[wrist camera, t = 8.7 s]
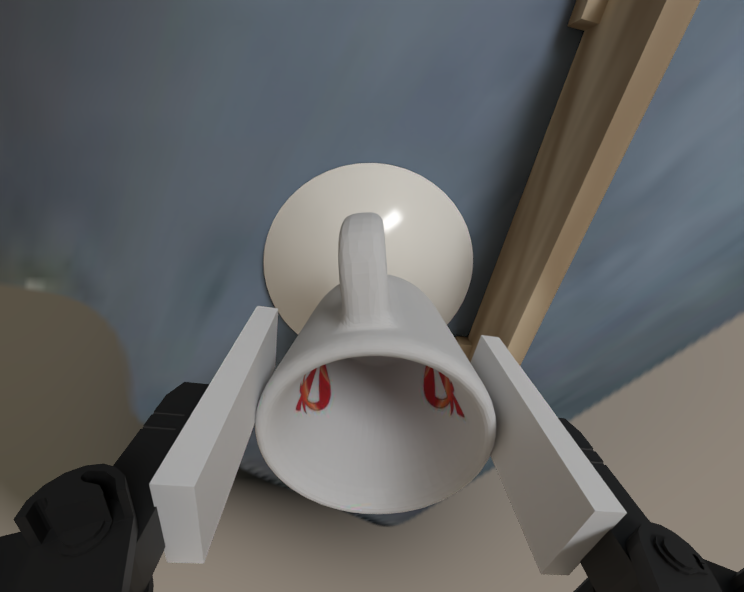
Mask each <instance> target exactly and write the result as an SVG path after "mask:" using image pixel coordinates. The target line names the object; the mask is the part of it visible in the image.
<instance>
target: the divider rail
mask: <svg viewBox="0 0 744 592" xmlns="http://www.w3.org/2000/svg"><path fill="white" fill-rule="evenodd" d="M699 2H700V0H576V3H575V6H574V9H573V11H572V14H571V17H570V20H569V23H568V25H567V26H568V27H571V28H575V29H579V30H583V31H584V33H583V36H582V39H581V41H580V44H579V47H578V49H577V52H576V54H575V57H574V60H573V62H572V65H571V68H570V70H569V73H568V76H567V78H566V81H565V83H564V86H563V89H562V91H561V94H560V97H559V99H558V102H557V104H556V107H555V110H554V112H553V115H552V118H551V120H550V123H549V126H548V128H547V131H546V133H545V136H544V139H543V141H542V144H541V147H540V149H539V152H538V154H537V157H536V160H535V162H534V165H533V168H532V170H531V173H530V176H529V178H528V181H527V183H526V186H525V189H524V191H523V194H522V197H521V199H520V202H519V204H518V207H517V210H516V212H515V215H514V218H513V220H512V223H511V226H510V228H509V231H508V233H507V236H506V239H505V241H504V244H503V247H502V249H501V252H500V255H499V257H498V260H497V262H496V265H495V268H494V270H493V273H492V276H491V278H490V281H489V283H488V286H487V289H486V291H485V294H484V297H483V299H482V302H481V305H480V307H479V310H478V312H477V315H476V318H475V320H474V323H473V326H472V328H471V331H470V333H469V336H468V337H460V336H456V338H455V339H456V341H457V342H458V344H459V346H460V347H461V349H462V350H463V352H464V354H465V355H466V357H467V358H468V360H469V362H471V360H472V357H473V355H474V352H475V350H476V347H477V345H478V342H479V340H480V337H481V335H485V336H493V337H499V338H500V339H501V341H502V342H503V343H504V345H505V346H506V348H507V349H508V350H509V352H510V353H511V354H512V356H513V357H514V359H515V360H516V361H517V363H518V364H519V365H521V363H522V361H523V359H524V357H525V355H526V353H527V351H528V349H529V347H530V345H531V343H532V340H533V338H534V336H535V334H536V332H537V330H538V328H539V326H540V324H541V322H542V320H543V318H544V316H545V314H546V312H547V310H548V308H549V306H550V304H551V302H552V300H553V298H554V296H555V294H556V292H557V290H558V288H559V286H560V284H561V282H562V280H563V278H564V276H565V274H566V272H567V270H568V268H569V266H570V264H571V262H572V260H573V258H574V255H575V253H576V251H577V249H578V247H579V245H580V243H581V241H582V239H583V237H584V235H585V233H586V231H587V229H588V227H589V225H590V223H591V221H592V219H593V217H594V215H595V213H596V211H597V209H598V207H599V205H600V203H601V201H602V199H603V197H604V195H605V193H606V191H607V189H608V187H609V185H610V183H611V181H612V179H613V177H614V175H615V172H616V170H617V168H618V166H619V164H620V162H621V160H622V158H623V156H624V154H625V152H626V150H627V148H628V146H629V144H630V142H631V140H632V138H633V136H634V134H635V132H636V130H637V128H638V126H639V124H640V122H641V120H642V118H643V116H644V114H645V112H646V110H647V108H648V106H649V104H650V102H651V100H652V98H653V96H654V94H655V92H656V89H657V87H658V85H659V83H660V81H661V79H662V77H663V75H664V73H665V71H666V69H667V67H668V65H669V63H670V61H671V59H672V57H673V55H674V53H675V51H676V49H677V47H678V45H679V43H680V41H681V39H682V37H683V35H684V33H685V31H686V29H687V27H688V25H689V23H690V21H691V19H692V17H693V15H694V13H695V11H696V9H697V7H698V4H699Z"/></svg>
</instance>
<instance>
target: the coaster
mask: <svg viewBox="0 0 744 592" xmlns="http://www.w3.org/2000/svg"><path fill="white" fill-rule="evenodd" d="M363 212H372V213H375V214H378V215H379V216H380V217H381V218H382V220H383V226H384V234H385V247H386V260H387V274H388V275H393V276H396V277H399V278H402V279H404V280H406V281H408V282H410V283H412V284H413V285H415V286H416V287H418V288H419V289H420V290H421V291H422V292H423V293H424V294H425V295H426V296H427V297H428V298H429V299H430V300H431V302H432V303H433V304H434V306H435V307H436V309H437V310H438V312H439V313H440V315H441V317H442V318H443V320H444V321H445V323H446V325H447V324H448V323H449V322H450V321H451V319H452V318H453V317H454V315H455V314H456V313H457V311H458V310H459V308H460V306H461V304H462V303H463V301H464V298H465V296H466V294H467V291H468V288H469V285H470V281H471V276H472V269H473V250H472V243H471V238H470V235H469V232H468V228H467V226H466V224H465V221H464V219H463V217H462V215H461V214H460V212H459V210H458V209H457V207H456V206H455V204H454V203H453V202H452V201H451V200H450V198H449V197H448V196H447V195H446V194H445V193H444V192H443V191H442V190H441V189H439V188H438V187H437V186H436V185H435V184H433V183H432V182H430V181H429V180H427V179H425V178H424V177H422V176H421V175H419V174H416V173H414V172H412V171H409V170H407V169H404V168H401V167H397V166H393V165H389V164H381V163H357V164H351V165H345V166H341V167H338V168H335V169H332V170H329V171H327V172H325V173H323V174H320V175H318V176H316V177H314V178H313V179H312V180H310V181H309V182H307V183H306V184H304V185H303V186H301V187H300V188H299V189H298V190H297V191H296V192H295V193H294V194H293V195H292V196H290V198H289V199H288V200H287V201H286V202H285V204H284V205H283V206H282V207H281V209H280V210H279V212H278V214H277V215H276V217H275V219H274V221H273V223H272V225H271V228H270V230H269V233H268V236H267V240H266V244H265V250H264V275H265V280H266V286H267V289H268V292H269V295H270V298H271V300H272V302H273V304H274V306H275V308H277V309H278V312H279V314H280V315H281V317H282V318H283V320H284V321H285V322H286V323H287V324H288V325H289V326H290V328H291V329H292V330H294V331H295V332H296V333H297V334H299V333H300V331H301V330H302V328H303V327H304V325H305V324H306V322H307V320H308V319H309V317H310V316H311V314H312V313H313V311H314V310H315V308H316V307H317V305H318V304H319V302H320V301H321V300H322V299H323V297H324V296H325V295H326V294H327V293H328V292H329V291H330V290H332V289H333V288H334V287H335V286H337V285H338V284H340V282H339V267H338V241H339V233H340V229H341V225H342V223H343V221H344V220H345V218H346V217H348V216H349V215H352V214H355V213H363Z"/></svg>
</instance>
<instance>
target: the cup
mask: <svg viewBox="0 0 744 592" xmlns="http://www.w3.org/2000/svg"><path fill="white" fill-rule="evenodd" d="M338 267H339V282H340V284H338V285H337V286H335V287H334V288H333V289H332V290H330V291H329V292H328V293H327V294H326V295H325V296H324V297H323V299H322V300H321V301H320V302H319V304H318V305H317V307H316V308H315V310H314V311H313V313H312V314H311V316H310V317H309V319H308V320H307V322H306V324H305V325H304V327H303V328H302V330H301V331H300V333H299V334H298V336H297V338H296V339H295V341H294V342H293V344H292V345H291V347H290V348H289V350H288V352H287V353H286V355H285V356H284V358H283V359H282V361H281V362H280V364H279V366H278V367H277V369H276V370H275V372H274V373H273V375H272V376H271V378H270V380H269V381H268V383H267V384H266V386H265V388H264V390H263V392H262V394H261V397H260V400H259V403H258V406H257V410H256V417H255V433H256V438H257V443H258V446H259V449H260V452H261V454H262V456H263V458H264V459H265V461H266V463H267V465H268V466H269V467H270V468H271V470H272V471H273V472H274V474H275V475H276V476H277V477H278V478H279V479H280V480H281V481H283V482H284V483H285V484H286V485H288V486H289V487H290V488H291V489H293V490H294V491H296V492H297V493H299V494H301V495H303V496H304V497H306V498H308V499H310V500H313V501H315V502H317V503H319V504H322V505H325V506H328V507H332V508H335V509H338V510H343V511H348V512H355V513H363V514H390V513H399V512H406V511H411V510H415V509H419V508H424V507H426V506H429V505H432V504H434V503H437V502H440V501H442V500H444V499H446V498H448V497H449V496H451V495H453V494H455V493H457V492H458V491H459V490H461V489H462V488H463V487H465V486H466V485H467V484H469V483H470V482H471V481H472V480H473V479H474V478H475V477H476V476H477V475H478V474H479V472H480V471H481V470H482V468H483V467H484V465H485V464H486V462H487V460H488V459H489V457H490V454H491V452H492V449H493V446H494V442H495V437H496V416H495V412H494V408H493V404H492V401H491V398H490V396H489V394H488V392H487V390H486V388H485V386H484V384H483V383H482V381H481V379H480V378H479V376H478V374H477V373H476V371H475V370H474V368H473V366H472V365H471V363H470V362H469V360H468V358H467V357H466V355H465V354H464V352H463V350H462V349H461V347H460V346H459V344H458V342H457V341H456V339H455V338H454V336H453V334H452V333H451V331H450V330H449V328H448V326H447V325H446V323H445V321H444V320H443V318H442V317H441V315H440V313H439V312H438V310H437V309H436V307H435V306H434V304H433V303H432V302H431V300H430V299H429V298H428V297H427V296H426V295H425V294H424V293H423V292H422V291H421V290H420V289H419V288H418V287H416V286H415V285H413V284H412V283H410V282H408V281H406V280H404V279H402V278H399V277H396V276H393V275H388V274H387V260H386V247H385V234H384V226H383V220H382V218H381V217H380V216H379V215H378V214H375V213H372V212H363V213H355V214H352V215H349V216H348V217H346V218H345V220H344V221H343V223H342V225H341V229H340V233H339V241H338Z"/></svg>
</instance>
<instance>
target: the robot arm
mask: <svg viewBox="0 0 744 592" xmlns="http://www.w3.org/2000/svg"><path fill="white" fill-rule="evenodd" d="M277 323H278V309H277V308H270V307H262V306H257V307H256V309H255V310H254V312H253V314H252V315H251V317H250V319H249V320H248V322H247V323H246V325H245V327H244V328H243V330H242V332H241V333H240V335H239V337H238V338H237V340H236V342H235V343H234V345H233V347H232V348H231V350H230V351H229V353H228V355H227V356H226V358H225V360H224V361H223V363H222V365H221V366H220V368H219V370H218V371H217V373H216V375H215V376H214V378H213V379H212V381H211V383H210V384H200V383H189V382H184V383H182V384H181V385H180V386H178V387H177V388H175V389H174V390H173V391H171V392H170V393H168V394H167V395H166V396H165V398H164V399H163V400H162V402H161V403H160V404H159V405H158V407H157V408H156V409H155V411H154V414H153V415H151V416H150V417H149V419H148V420H147V421H146V423H145V424H144V427H143V429H140V431H139V432H138V433H137V435H136V436H135V437H134V439H133V440H132V441H131V443H130V444H129V445H128V447H127V448H126V449H125V451H124V452H123V453H122V455H121V456H120V457H119V459H118V460H117V461H116V463H115V464H114V466H110V465H106V464H96V465H87V466H83V467H81V468H77V469H75V470H72V471H69V472H66V473H64V474H62V475H61V476H59V477H57V478H56V479H54V480H52V481H51V482H49V483H47V484H45V485H44V486H43V487H42V488H40V489H39V490H38V491H37V492H36V493H35V494H34V495H33V496H31V497H30V498H29V499H28V500H27V501H26V502H25V504H24V505H23V506H22V508H21V510H20V511H19V512H18V514H17V515H16V517H15V518H14V521H15V523H16V524H17V526H18V527H19V529H20V531H21V532H18V533H14V534H10V535H5V536H2V537H0V592H153V576H152V575H153V572H154V570H155V568H156V566H157V564H158V562H159V560H160V557H161V555H162V553H163V551H164V552H165V556H166V560H167V562H174V563H204V562H205V559H206V556H207V553H208V551H209V548H210V545H211V543H212V539H213V537H214V534H215V532H216V528H217V526H218V523H219V520H220V518H221V515H222V512H223V509H224V507H225V504H226V501H227V498H228V496H229V492H230V490H231V487H232V485H233V482H234V479H235V476H236V473H237V470H238V468H239V465H240V463H241V460H242V457H243V454H244V451H245V449H246V446H247V443H248V440H249V438H250V435H251V432H252V429H253V427H254V424H255V417H256V410H257V406H258V403H259V400H260V397H261V394H262V392H263V390H264V388H265V386H266V384H267V383H268V381H269V380H270V378H271V376H272V374H273V371H274V369H275V364H276V343H277ZM470 363H471V365H472V366H473V368H474V370H475V371H476V373H477V374H478V376H479V378H480V379H481V381H482V383H483V384H484V386H485V388H486V390H487V392H488V394H489V396H490V398H491V401H492V404H493V408H494V412H495V416H496V437H495V442H494V446H493V449H492V452H491V454H490V456H491V458H492V460H493V463H494V465H495V467H496V470H497V472H498V475H499V477H500V479H501V481H502V484H503V486H504V489H505V491H506V493H507V496H508V498H509V500H510V503H511V505H512V507H513V510H514V512H515V514H516V517H517V519H518V521H519V524H520V526H521V528H522V531H523V533H524V535H525V538H526V540H527V543H528V545H529V547H530V550H531V552H532V554H533V556H534V559H535V561H536V563H537V566H538V568H539V571H540V573H541V574H550V575H569V574H570V573H571V572H572V571H573V570H574V569H575V568H576V567H577V566H578V565H579V563H581V565H582V567H583V568H584V570H585V572H586V574H587V576H588V578H587V579H586V580H585V581H584V582H583V583H582V584H581V585H580V586H579V587H578V588H577V589H576V590H575V591H574V592H744V568H743V569H742V570H740V571H739V572H735V571H732V570H730V569H727V568H725V567H722V566H720V565H717V564H715V563H712V562H710V561H707V560H704V559H703V558H702V557H701V556H700V555H699V554H698V553H697V552H696V551H695V550H694V549H693V548H692V547H691V546H690V545H689V544H688V543H687V542H686V541H684V540H683V539H682V538H681V537H679V536H678V535H677V534H675V533H674V532H672V531H671V530H669V529H667V528H665V527H663V526H662V525H659V524H655V523H651V522H650V521H649V520H648V519H647V517H646V516H645V515H644V514H643V512H642V511H641V510H640V508H639V507H638V506H637V505H636V503H635V502H634V501H633V499H632V498H631V497H630V496H629V494H628V493H627V492H626V490H625V489H624V488H623V487H622V485H621V484H620V483H619V481H618V480H617V479H616V477H615V476H614V475H613V474H612V472H611V471H610V470H609V468H608V467H607V466H606V465H604V464H603V460H602V459H601V458H600V457H599V455H598V454H597V453H596V452H594V451H593V448H592V446H591V445H590V444H589V442H588V441H587V440H586V439H585V437H584V436H583V435H582V433H581V432H580V431H579V430H577V429H576V428H575V427H574V426H573V425H572V424H570V423H569V422H568V421H567V420H566V419H564V418H557V416H556V415H555V413H554V412H553V411H552V409H551V408H550V407H549V405H548V404H547V402H546V401H545V400H544V398H543V397H542V396H541V394H540V393H539V391H538V390H537V389H536V387H535V386H534V385H533V383H532V382H531V380H530V379H529V378H528V376H527V375H526V374H525V372H524V371H523V370H522V368H521V367H520V365H519V364H518V363H517V361H516V360H515V359H514V357H513V356H512V354H511V353H510V352H509V350H508V349H507V348H506V346H505V345H504V343H503V342H502V341H501V339H500V338H499V337H493V336H485V335H481V337H480V340H479V342H478V345H477V347H476V350H475V352H474V355H473V357H472V360H471V362H470Z"/></svg>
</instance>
